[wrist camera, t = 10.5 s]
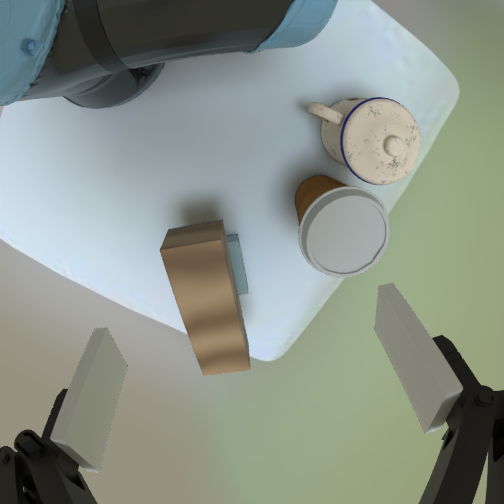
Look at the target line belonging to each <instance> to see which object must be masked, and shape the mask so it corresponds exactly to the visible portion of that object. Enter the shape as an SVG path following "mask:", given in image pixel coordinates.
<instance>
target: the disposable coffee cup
mask: <svg viewBox="0 0 504 504" xmlns="http://www.w3.org/2000/svg"><path fill="white" fill-rule="evenodd" d="M295 205H296V210H297V215H298V220H299V225H300V228H299V245H300V249H301V252H302V254H303V256H304V258H305V259H306V261H307V262H308V263H309V264H310V265H311V266H312V267H313V268H315V269H316V270H318V271H320V272H322V273H325V274H326V275H330V276H334V277H351V276H355V275H359V274H361V273H363V272H365V271H366V270H367V269H369V268H370V267H372V266H373V265H374V264H375V263H376V262H377V261H378V260H379V259H380V258H381V256H382V255H383V253H384V251H385V249H386V247H387V245H388V242H389V237H390V225H389V218H388V214H387V211H386V208H385V207H384V205H383V203H382V202H381V200H380V199H379V198H378V197H377V196H376V195H374V194H373V193H372V192H370V191H368V190H366V189H363V188H359V187H355V186H348V185H346V184H344V183H342V182H339V181H337V180H334V179H332V178H330V177H327V176H323V175H318V176H313V177H311V178H308V179H307V180H305V181H304V182H303V183H302V184H301V185H300V186H299V188H298V190H297V192H296V196H295Z"/></svg>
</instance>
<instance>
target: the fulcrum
mask: <svg viewBox="0 0 504 504" xmlns="http://www.w3.org/2000/svg"><path fill="white" fill-rule="evenodd" d="M226 240H227V245H228V249H229V254H230V259H231V264H232V269H233V274H234V278H235V283H236V288H237V293H238V295H241V294H247V293H248V285H247V280H246V275H245V270H244V265H243V259H242V254H241V249H240V244H239V239H238V234H235V235H229V236H226Z"/></svg>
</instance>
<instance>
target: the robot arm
mask: <svg viewBox="0 0 504 504" xmlns="http://www.w3.org/2000/svg"><path fill="white" fill-rule="evenodd" d="M337 2H338V0H0V106H2V105H9V104H12V103H14V102H16V101H23V100H30V99H39V98H48V97H58V96H63V97H64V98H65V99H67V100H68V101H70V102H71V103H73V104H75V105H78V106H81V107H85V108H93V109H98V108H107V107H114V106H118V105H121V104H124V103H126V102H128V101H130V100H132V99H134V98H135V97H137V96H138V95H140V94H141V93H142V92H144V91H145V90H146V89H147V88H148V87H149V86H150V85H151V84H152V83H153V82H154V80H155V79H156V78H157V76H158V75H159V73H160V72H161V70H162V68H163V66H164V64H165V62H167V61H172V60H178V59H184V58H191V57H197V56H205V55H213V54H222V53H231V52H243V53H255V52H260V51H262V50H264V49H275V48H289V47H297V46H299V45H302V44H305V43H307V42H309V41H311V40H312V39H314V38H315V37H316V36H317V35H318V34H319V33H320V32H321V31H322V30H323V28H324V27H325V26H326V24H327V23H328V21H329V19H330V18H331V16H332V13H333V11H334V9H335V7H336V4H337ZM374 330H375V332H376V334H377V336H378V338H379V339H380V341H381V343H382V345H383V347H384V349H385V351H386V353H387V355H388V357H389V359H390V361H391V363H392V365H393V366H394V369H395V371H396V373H397V375H398V377H399V379H400V381H401V383H402V385H403V388H404V390H405V392H406V394H407V395H408V398H409V400H410V402H411V404H412V407H413V409H414V411H415V413H416V415H417V418H418V420H419V422H420V424H421V426H422V429H423V431H424V433H425V434H428V433H430V432H433V431H435V430H438V429H440V428H442V426H443V424H444V422H445V421H446V422H447V424H448V426H449V428H448V430H447V431H446V433H445V434H444V436H443V438H442V440H444V442H443V445H442V448H441V451H440V454H439V456H438V459H437V461H436V464H435V467H434V469H433V472H432V474H431V477H430V479H429V482H428V484H427V486H426V489H425V491H424V493H423V495H422V498H421V500H420V502H419V504H472V502H473V499H474V497H475V494H476V490H477V488H478V485H479V481H480V478H481V475H482V471H483V467H484V464H485V460H486V456H487V452H488V475H487V489H486V501H485V504H504V390H501V391H493V390H492V389H491V388H490V387H487V386H483V385H481V384H480V383H479V382H478V380H477V379H476V377H475V376H474V374H473V373H472V371H471V370H470V368H469V367H468V365H467V364H466V362H465V361H464V359H462V356H461V355H460V353H459V352H457V349H456V347H455V346H454V344H453V343H452V342H451V341H450V340H449V339H447V338H446V337H444V336H443V335H440V336H437V337H434V338H431V336H430V335H429V333H428V332H427V330H426V329H425V327H424V326H423V324H422V323H421V321H420V320H419V319H418V317H417V316H416V314H415V313H414V311H413V310H412V308H411V307H410V306H409V304H408V303H407V301H406V300H405V299H404V297H403V296H402V295H401V293H400V292H399V290H398V289H397V288H396V286H395V285H394V284H393V283H390V284H385V285H380V286H378V300H377V310H376V318H375V327H374ZM127 367H128V365H127V363H126V361H125V360H124V358H123V356H122V354H121V353H120V351H119V349H118V347H117V345H116V343H115V342H114V340H113V338H112V336H111V334H110V332H109V330H108V328H97V329H94V331H93V333H92V335H91V337H90V340H89V342H88V344H87V346H86V348H85V351H84V353H83V355H82V358H81V360H80V362H79V364H78V367H77V369H76V371H75V374H74V376H73V379H72V381H71V384H70V386H69V388H68V389H63V390H62V391H61V392H60V394H59V395H58V396H57V398H56V400H55V403H54V405H53V406H54V407H53V408H52V410H51V415H49V418H48V421H47V423H46V426H45V429H44V431H43V434H42V437H41V438H40V437H39V436H38V435H37V434H36V433H35V432H34V431H32V430H24V431H22V432H21V433H19V434H18V436H17V437H16V439H15V442H14V448H15V449H16V450H17V451H18V452H15V451H14V450H13V449H12V448H10V447H8V446H3V447H1V448H0V504H97V502H96V500H95V498H94V497H93V495H92V493H91V491H90V490H89V488H88V486H87V484H86V482H85V480H84V478H83V477H82V475H81V473H80V472H79V471H78V468H79V465H80V466H81V467H82V468H84V469H85V470H86V471H91V472H98V473H101V469H102V464H103V459H104V455H105V451H106V446H107V441H108V438H109V434H110V429H111V425H112V421H113V418H114V413H115V409H116V406H117V402H118V399H119V395H120V391H121V388H122V384H123V381H124V377H125V374H126V370H127ZM23 487H24V491H23Z"/></svg>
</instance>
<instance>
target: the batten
mask: <svg viewBox="0 0 504 504" xmlns="http://www.w3.org/2000/svg"><path fill="white" fill-rule="evenodd" d="M160 253H161V256H162V259H163V262H164V266H165V269H166V272H167V275H168V278H169V281H170V284H171V287H172V290H173V293H174V296H175V299H176V302H177V305H178V308H179V311H180V314H181V317H182V320H183V322H184V325H185V328H186V331H187V333H188V336H189V339H190V341H191V344H192V347H193V350H194V352H195V355H196V358H197V360H198V363H199V365H200V368H201V370H202V373H203V375H211V374H221V373H230V372H238V371H246V370H250V358H249V345H248V339H247V334H246V330H245V325H244V321H243V316H242V311H241V307H240V302H239V297H238V293H237V288H236V283H235V278H234V274H233V269H232V264H231V259H230V254H229V249H228V245H227V240H226V235H225V230H224V225H223V220H219V221H213V222H207V223H201V224H195V225H190V226H184V227H179V228H173V229H169V230H168V232H167V234H166V237H165V239H164V241H163V244H162V246H161V248H160Z"/></svg>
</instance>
